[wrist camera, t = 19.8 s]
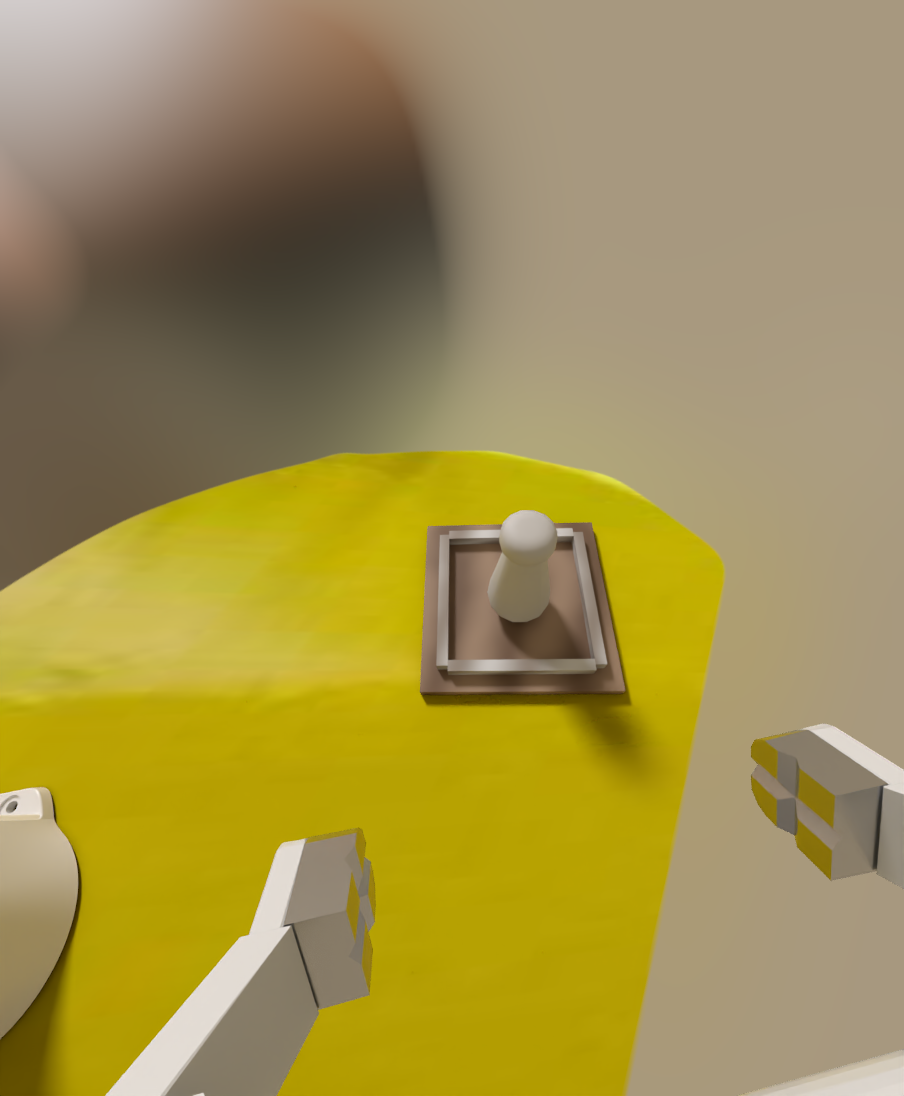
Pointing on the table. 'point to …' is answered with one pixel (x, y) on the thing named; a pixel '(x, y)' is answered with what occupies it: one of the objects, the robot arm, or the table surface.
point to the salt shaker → (523, 566)
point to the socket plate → (515, 647)
